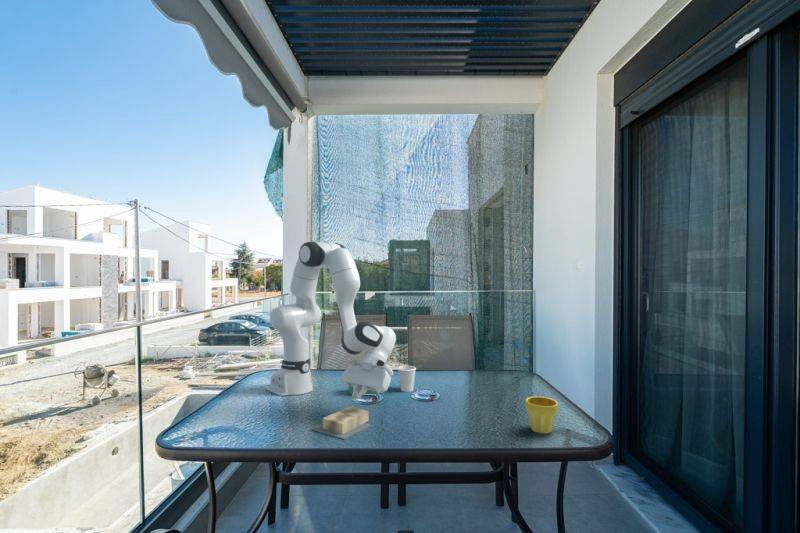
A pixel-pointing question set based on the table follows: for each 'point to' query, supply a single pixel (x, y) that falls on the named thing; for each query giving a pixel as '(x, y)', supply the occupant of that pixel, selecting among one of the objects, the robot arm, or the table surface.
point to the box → (365, 393)
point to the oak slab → (345, 420)
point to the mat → (342, 436)
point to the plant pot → (541, 413)
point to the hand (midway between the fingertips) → (355, 397)
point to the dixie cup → (406, 377)
